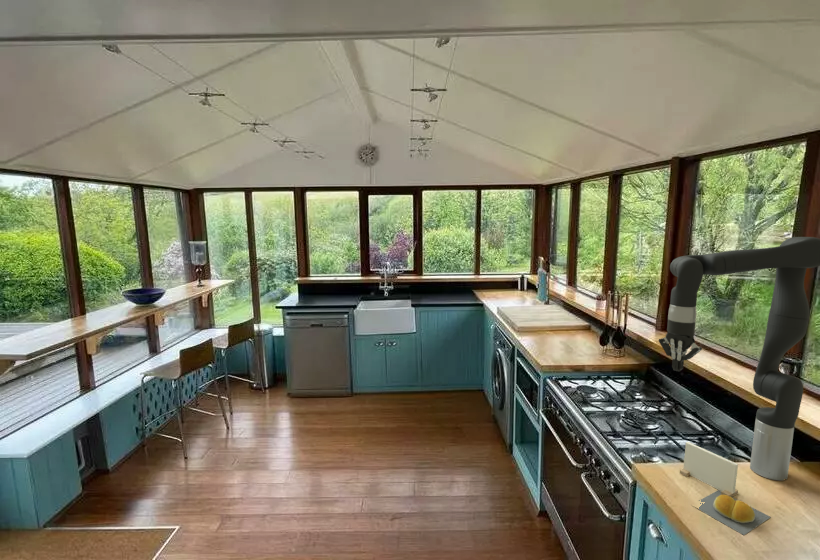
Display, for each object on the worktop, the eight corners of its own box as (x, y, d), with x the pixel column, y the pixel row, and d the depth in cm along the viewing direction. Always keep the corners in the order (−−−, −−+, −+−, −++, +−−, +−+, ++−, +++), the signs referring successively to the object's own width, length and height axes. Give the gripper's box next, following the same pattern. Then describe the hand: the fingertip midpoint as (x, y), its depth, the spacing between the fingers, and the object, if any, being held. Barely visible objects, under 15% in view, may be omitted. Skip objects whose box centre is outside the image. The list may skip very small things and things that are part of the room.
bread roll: (751, 529, 111) (752, 515, 110) (710, 512, 117) (711, 499, 117) (757, 514, 116) (758, 501, 115) (718, 498, 123) (719, 486, 122)
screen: (688, 468, 137) (691, 440, 136) (737, 493, 125) (741, 462, 123) (679, 473, 135) (682, 444, 134) (728, 498, 123) (732, 467, 121)
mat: (718, 490, 126) (718, 489, 126) (770, 517, 115) (770, 516, 115) (691, 505, 120) (691, 504, 120) (743, 535, 109) (743, 534, 109)
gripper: (710, 321, 131) (705, 374, 134) (667, 313, 143) (663, 362, 146) (697, 324, 128) (691, 379, 130) (654, 316, 139) (650, 366, 142)
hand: (677, 370), depth 138 cm, fingers closed
